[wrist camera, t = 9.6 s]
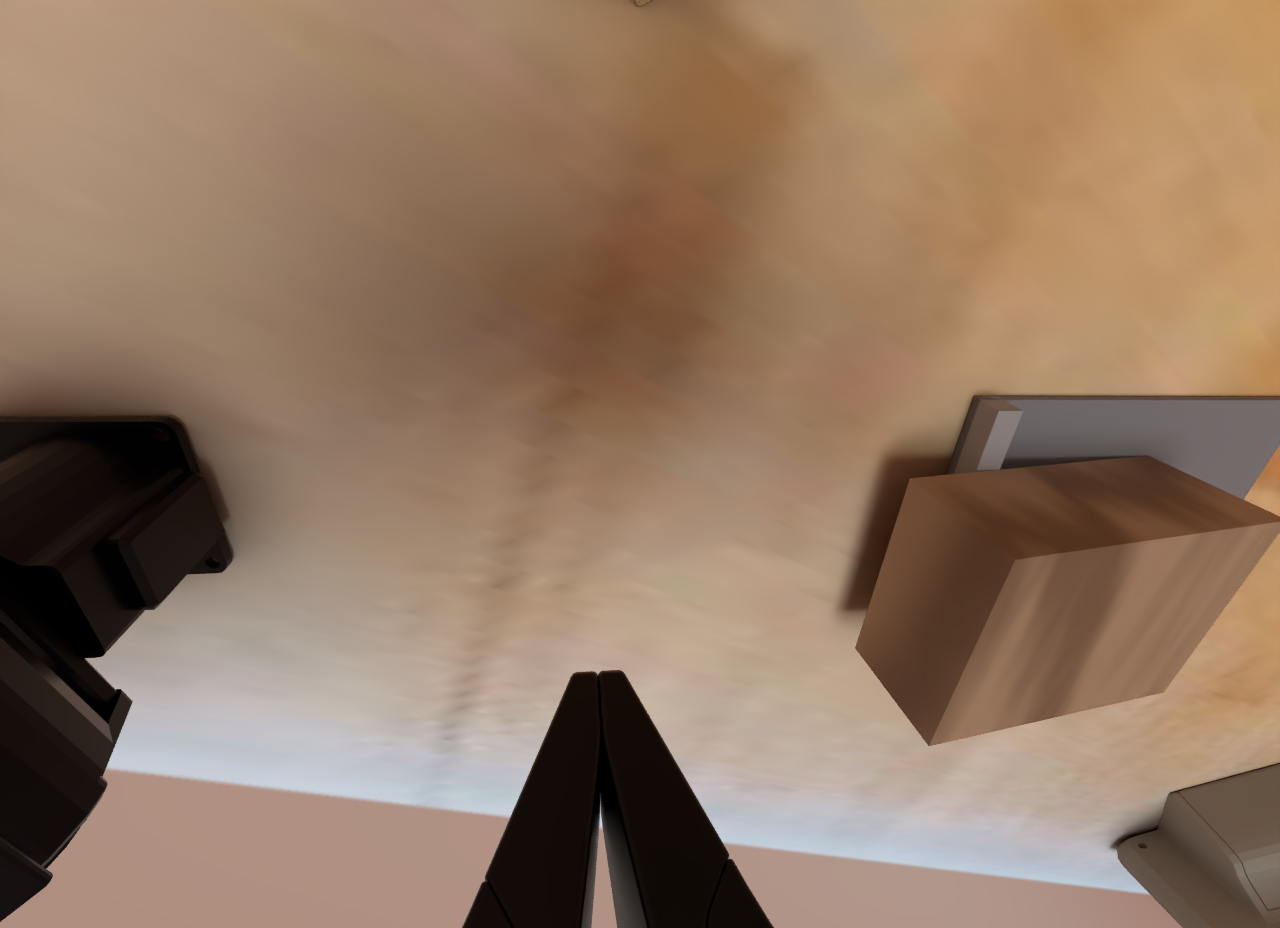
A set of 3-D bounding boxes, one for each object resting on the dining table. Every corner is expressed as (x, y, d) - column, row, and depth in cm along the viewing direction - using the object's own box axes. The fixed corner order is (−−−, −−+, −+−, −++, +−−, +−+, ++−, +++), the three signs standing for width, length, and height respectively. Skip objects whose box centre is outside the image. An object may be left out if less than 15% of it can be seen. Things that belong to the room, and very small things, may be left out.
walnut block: (928, 746, 22) (1163, 692, 25) (1015, 559, 17) (1288, 520, 20) (855, 648, 26) (1062, 611, 29) (909, 478, 22) (1148, 455, 24)
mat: (884, 648, 29) (899, 671, 28) (974, 396, 23) (998, 411, 21) (1143, 635, 31) (1168, 656, 30) (1298, 396, 24) (1339, 410, 23)
